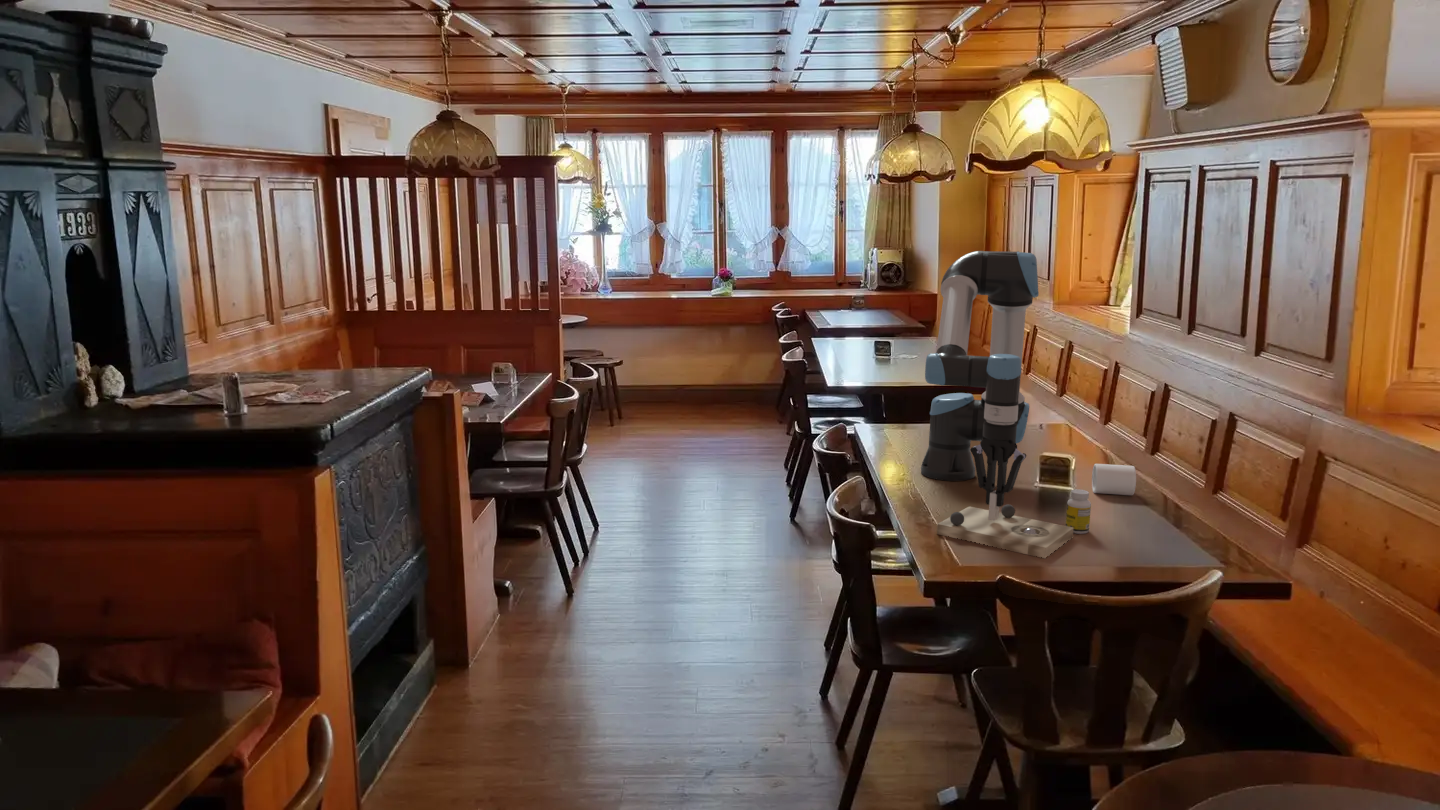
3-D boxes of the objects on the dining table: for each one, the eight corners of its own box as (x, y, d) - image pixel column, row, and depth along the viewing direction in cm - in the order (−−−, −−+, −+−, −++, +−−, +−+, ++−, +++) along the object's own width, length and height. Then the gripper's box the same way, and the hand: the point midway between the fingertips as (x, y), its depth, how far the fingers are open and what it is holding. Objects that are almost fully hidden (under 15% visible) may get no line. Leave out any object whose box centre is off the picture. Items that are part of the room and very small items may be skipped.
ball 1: (947, 525, 237) (948, 512, 237) (953, 522, 240) (954, 509, 239) (960, 528, 235) (961, 515, 235) (966, 525, 238) (966, 511, 237)
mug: (1134, 499, 269) (1137, 470, 268) (1095, 496, 271) (1097, 467, 270) (1126, 486, 281) (1128, 459, 279) (1088, 484, 283) (1091, 456, 281)
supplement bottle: (1061, 527, 245) (1064, 488, 243) (1082, 526, 246) (1086, 488, 244) (1070, 534, 240) (1074, 494, 238) (1092, 534, 240) (1096, 494, 238)
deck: (936, 534, 239) (937, 523, 238) (968, 515, 253) (969, 506, 252) (1045, 558, 223) (1046, 547, 223) (1072, 537, 237) (1073, 527, 237)
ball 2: (998, 517, 244) (999, 505, 243) (1003, 514, 246) (1004, 501, 245) (1011, 520, 242) (1012, 507, 241) (1016, 517, 244) (1017, 504, 243)
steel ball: (1020, 529, 234) (1033, 531, 232) (1025, 525, 236) (1038, 526, 234) (1021, 543, 234) (1034, 544, 232) (1026, 538, 237) (1039, 539, 235)
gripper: (967, 420, 235) (961, 517, 240) (1021, 428, 228) (1014, 528, 233) (979, 414, 241) (973, 509, 246) (1033, 422, 234) (1026, 520, 239)
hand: (993, 518), depth 239 cm, fingers closed
